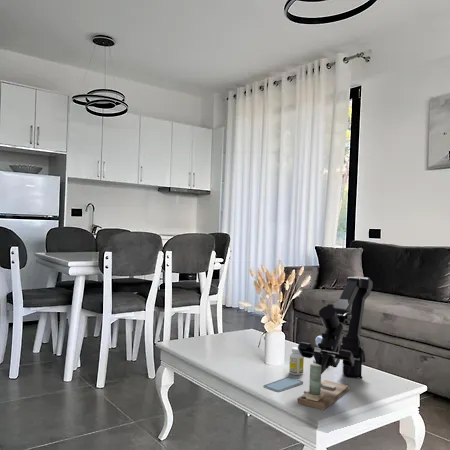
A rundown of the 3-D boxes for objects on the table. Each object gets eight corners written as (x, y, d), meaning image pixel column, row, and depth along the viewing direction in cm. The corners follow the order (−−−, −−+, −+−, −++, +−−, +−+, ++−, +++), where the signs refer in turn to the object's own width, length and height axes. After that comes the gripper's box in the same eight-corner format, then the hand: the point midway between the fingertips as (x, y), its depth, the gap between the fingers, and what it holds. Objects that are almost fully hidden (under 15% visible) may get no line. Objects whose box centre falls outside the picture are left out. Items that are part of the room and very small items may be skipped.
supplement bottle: (301, 371, 183) (302, 346, 183) (304, 375, 178) (305, 350, 178) (288, 370, 183) (289, 346, 183) (290, 375, 178) (291, 349, 178)
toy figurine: (320, 359, 202) (321, 331, 202) (331, 363, 196) (332, 335, 196) (309, 361, 198) (310, 333, 198) (319, 365, 193) (320, 336, 193)
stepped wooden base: (325, 384, 169) (325, 377, 169) (348, 389, 164) (349, 383, 164) (297, 402, 149) (297, 395, 149) (323, 409, 144) (323, 402, 144)
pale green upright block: (307, 392, 154) (308, 361, 154) (323, 397, 151) (324, 365, 151) (300, 397, 150) (301, 364, 150) (317, 401, 146) (318, 368, 146)
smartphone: (262, 385, 164) (288, 376, 174) (262, 388, 164) (288, 379, 174) (278, 391, 158) (304, 381, 169) (278, 394, 158) (304, 384, 169)
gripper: (362, 354, 160) (350, 395, 151) (312, 345, 171) (298, 382, 161) (356, 335, 154) (343, 376, 144) (304, 327, 164) (289, 364, 155)
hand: (317, 375), depth 151 cm, fingers closed, pressing on pale green upright block
